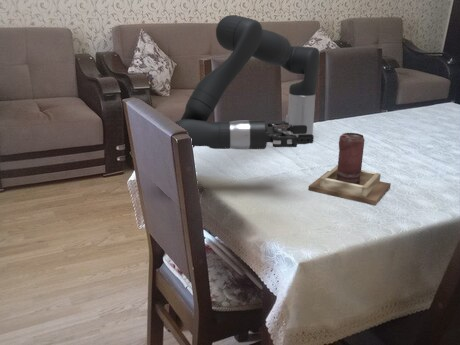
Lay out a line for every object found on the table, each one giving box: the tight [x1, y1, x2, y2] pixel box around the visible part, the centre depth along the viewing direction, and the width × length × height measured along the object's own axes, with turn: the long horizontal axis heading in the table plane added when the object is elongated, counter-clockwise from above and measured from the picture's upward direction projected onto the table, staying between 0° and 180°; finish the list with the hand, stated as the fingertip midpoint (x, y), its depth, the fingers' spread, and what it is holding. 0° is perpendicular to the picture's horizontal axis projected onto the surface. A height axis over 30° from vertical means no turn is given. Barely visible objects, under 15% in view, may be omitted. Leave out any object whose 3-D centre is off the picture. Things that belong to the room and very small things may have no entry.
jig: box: [307, 164, 392, 206], centre depth 122 cm, size 18×14×4 cm
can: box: [337, 132, 365, 185], centre depth 120 cm, size 6×6×14 cm
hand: (309, 133), depth 117 cm, fingers open, 8 cm apart
